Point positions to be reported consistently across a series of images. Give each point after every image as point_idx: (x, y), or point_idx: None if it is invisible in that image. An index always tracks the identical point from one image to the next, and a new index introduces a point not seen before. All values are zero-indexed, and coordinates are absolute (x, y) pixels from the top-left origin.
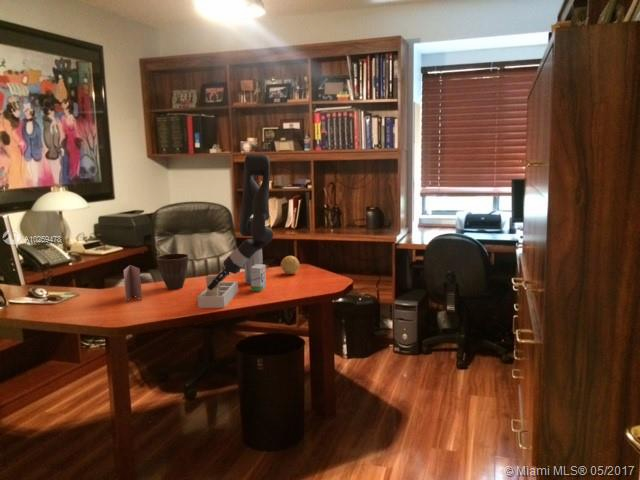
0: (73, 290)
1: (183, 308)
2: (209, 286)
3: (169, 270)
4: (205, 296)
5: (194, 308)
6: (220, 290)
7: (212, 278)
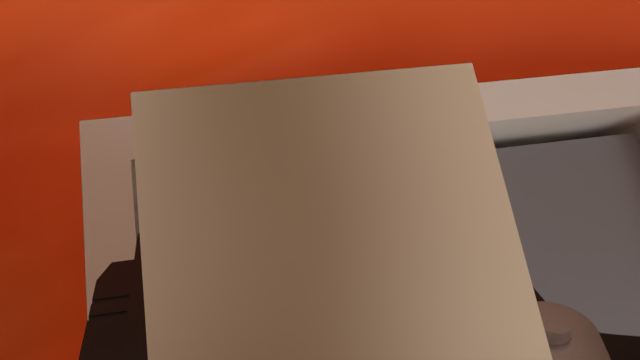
0: None
1: (86, 20)
2: (98, 292)
3: None
4: (89, 251)
5: None
6: (634, 286)
7: (150, 338)
